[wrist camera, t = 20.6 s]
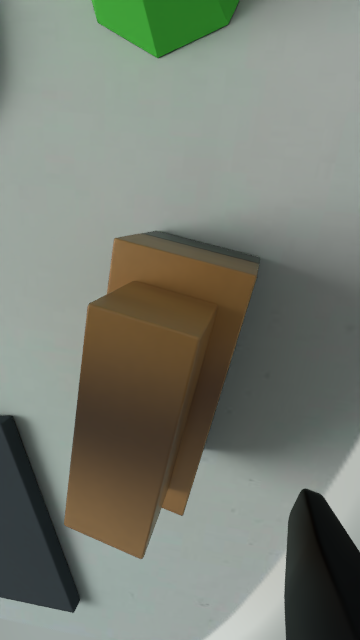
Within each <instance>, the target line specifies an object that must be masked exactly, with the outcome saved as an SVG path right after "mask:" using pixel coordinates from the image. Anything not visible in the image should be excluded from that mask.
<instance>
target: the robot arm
mask: <svg viewBox="0 0 360 640" xmlns="http://www.w3.org/2000/svg"><path fill="white" fill-rule="evenodd" d="M284 597H285V625H286V640H360V552H359V550H358V549H357V547H356V546H355V544H354V543H353V541H352V540H351V538H350V537H349V535H348V534H347V532H346V531H345V529H344V528H343V526H342V525H341V523H340V521H339V520H338V518H337V517H336V515H335V514H334V512H333V511H332V509H331V508H330V506H329V505H328V503H327V502H326V500H325V499H324V497H323V496H322V495H321V494H319V493H317V492H314V491H311V490H308V489H303V490H302V491H301V492H300V494H299V496H298V498H297V500H296V502H295V504H294V506H293V508H292V510H291V512H290V515H289V521H288V537H287V555H286V573H285V595H284Z"/></svg>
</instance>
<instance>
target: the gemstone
mask: <svg viewBox="0 0 360 640" xmlns="http://www.w3.org/2000/svg"><path fill="white" fill-rule="evenodd" d="M238 2H239V0H92V3H93V7H94V11H95V14H96V18H97V21H98V23H100V24H101V25H103V26H105V27H106V28H108V29H110V30H111V31H113V32H115V33H116V34H118V35H120V36H121V37H123V38H125V39H126V40H128V41H130V42H131V43H133V44H135V45H137V46H138V47H140V48H142V49H143V50H145V51H147V52H148V53H150V54H152V55H153V56H155V57H157V58H159V57H161V56H163V55H165V54H167V53H169V52H171V51H173V50H175V49H178V48H180V47H182V46H184V45H186V44H188V43H190V42H192V41H194V40H197V39H199V38H201V37H203V36H205V35H207V34H209V33H211V32H213V31H216V30H218V29H220V28H222V27H224V26H226V25H228V24H229V22H230V20H231V17H232V15H233V13H234V11H235V9H236V7H237V5H238Z"/></svg>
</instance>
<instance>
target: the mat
mask: <svg viewBox="0 0 360 640" xmlns="http://www.w3.org/2000/svg"><path fill="white" fill-rule="evenodd" d="M0 597H1V598H6V599H11V600H16V601H20V602H25V603H30V604H34V605H39V606H44V607H49V608H53V609H58V610H63V611H68V612H72V613H73V612H74V611H75V609H76V607H77V605H78V603H79V601H80V598H79V595H78V592H77V590H76V587H75V584H74V582H73V579H72V576H71V574H70V571H69V568H68V566H67V563H66V560H65V557H64V555H63V552H62V549H61V547H60V544H59V541H58V539H57V536H56V533H55V531H54V528H53V525H52V522H51V520H50V517H49V514H48V512H47V509H46V506H45V504H44V501H43V498H42V496H41V493H40V490H39V487H38V485H37V482H36V479H35V477H34V474H33V471H32V469H31V466H30V463H29V461H28V458H27V455H26V453H25V450H24V447H23V444H22V442H21V439H20V436H19V434H18V431H17V428H16V426H15V423H14V420H13V418H12V416H0Z"/></svg>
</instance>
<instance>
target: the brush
mask: <svg viewBox="0 0 360 640" xmlns="http://www.w3.org/2000/svg"><path fill="white" fill-rule="evenodd" d="M259 263H260V257H257V256H253V255H249V254H246V253H242V252H238V251H234V250H230V249H226V248H222V247H218V246H214V245H210V244H206V243H202V242H198V241H195V240H191V239H187V238H183V237H179V236H175V235H171V234H167V233H163V232H159V231H152V232H147V233H140V234H135V235H130V236H124V237H119V238H115V239H114V244H113V252H112V259H111V267H110V274H109V282H108V290H107V295H105V296H103V297H101V298H99V299H97V300H95V301H93V302H91V303H89V305H88V309H87V318H86V327H85V336H84V346H83V355H82V364H81V373H80V382H79V391H78V400H77V410H76V419H75V428H74V437H73V446H72V455H71V465H70V474H69V483H68V492H67V501H66V510H65V519H64V525H65V526H67V527H69V528H71V529H74V530H76V531H78V532H81V533H83V534H85V535H87V536H90V537H92V538H94V539H96V540H99V541H101V542H103V543H105V544H108V545H110V546H112V547H115V548H117V549H119V550H121V551H124V552H126V553H128V554H130V555H133V556H135V557H137V558H139V559H142V558H143V557H144V555H145V552H146V549H147V546H148V544H149V541H150V538H151V535H152V533H153V530H154V527H155V524H156V522H157V519H158V516H159V513H160V510H161V508H164V509H166V510H169V511H171V512H174V513H176V514H179V515H181V516H182V515H183V514H184V511H185V507H186V504H187V501H188V498H189V495H190V491H191V488H192V485H193V482H194V478H195V475H196V472H197V469H198V465H199V462H200V459H201V456H202V453H203V449H204V446H205V443H206V440H207V436H208V433H209V430H210V427H211V424H212V420H213V417H214V414H215V411H216V407H217V404H218V401H219V398H220V395H221V391H222V388H223V385H224V382H225V378H226V375H227V372H228V369H229V366H230V362H231V359H232V356H233V353H234V349H235V346H236V343H237V340H238V336H239V333H240V330H241V327H242V324H243V320H244V317H245V314H246V311H247V307H248V304H249V301H250V298H251V295H252V291H253V288H254V285H255V282H256V278H257V274H258V268H259Z"/></svg>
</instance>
